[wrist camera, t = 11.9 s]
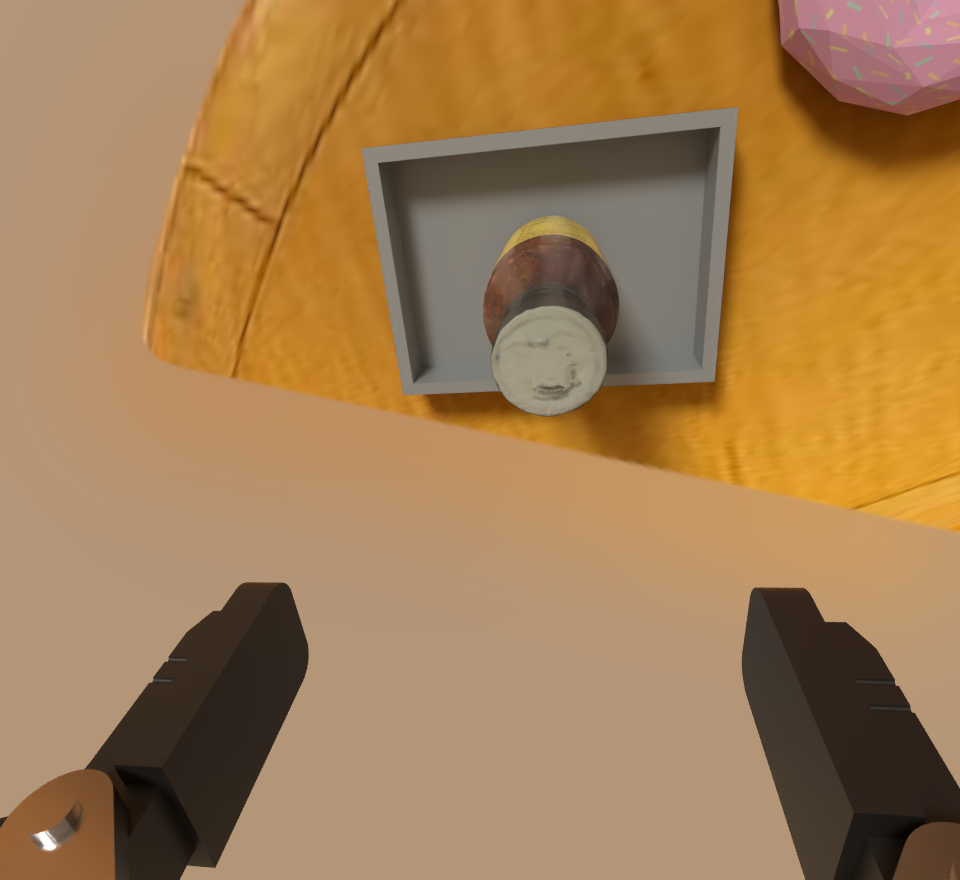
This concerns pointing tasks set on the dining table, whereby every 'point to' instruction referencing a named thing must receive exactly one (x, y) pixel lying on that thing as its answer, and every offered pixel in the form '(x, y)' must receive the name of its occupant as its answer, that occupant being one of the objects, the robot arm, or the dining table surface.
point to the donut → (878, 50)
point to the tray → (566, 193)
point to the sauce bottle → (550, 317)
